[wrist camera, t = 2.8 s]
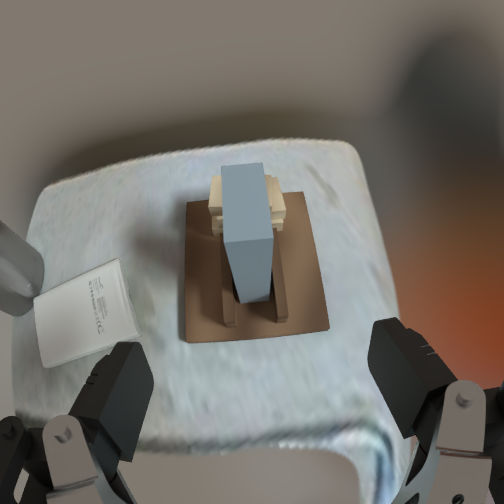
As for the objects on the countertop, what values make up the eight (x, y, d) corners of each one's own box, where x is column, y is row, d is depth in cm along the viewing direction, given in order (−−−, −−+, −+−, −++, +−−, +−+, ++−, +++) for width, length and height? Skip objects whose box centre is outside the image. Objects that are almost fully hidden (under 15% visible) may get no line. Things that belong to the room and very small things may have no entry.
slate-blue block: (240, 303, 23) (223, 242, 14) (236, 250, 26) (221, 166, 16) (269, 300, 23) (273, 238, 14) (263, 247, 26) (262, 162, 16)
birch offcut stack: (214, 237, 26) (206, 212, 22) (213, 200, 28) (206, 173, 24) (285, 230, 26) (288, 205, 23) (278, 194, 28) (280, 166, 24)
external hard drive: (41, 301, 25) (124, 262, 27) (51, 369, 22) (143, 336, 24) (32, 297, 24) (117, 256, 26) (42, 367, 21) (136, 333, 22)
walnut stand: (188, 343, 23) (177, 337, 20) (189, 207, 29) (181, 187, 26) (327, 330, 23) (337, 322, 20) (302, 197, 29) (306, 175, 26)
